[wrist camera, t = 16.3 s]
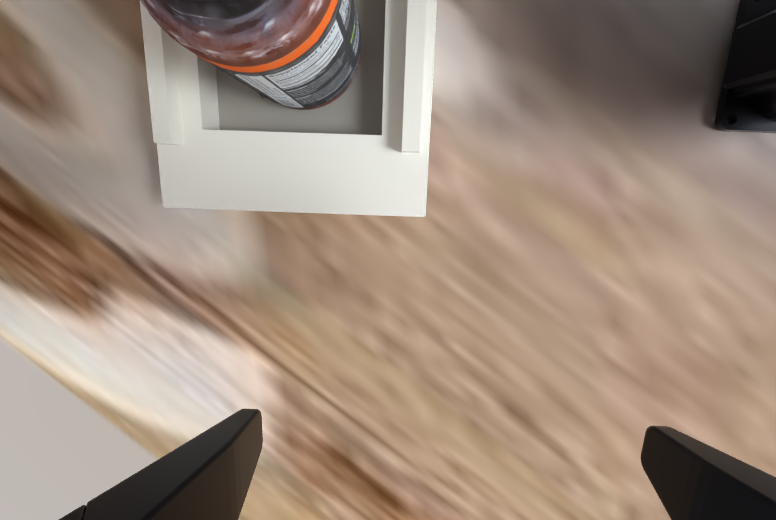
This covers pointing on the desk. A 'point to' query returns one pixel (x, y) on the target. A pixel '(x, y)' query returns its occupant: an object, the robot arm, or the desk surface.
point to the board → (299, 127)
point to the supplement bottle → (271, 44)
